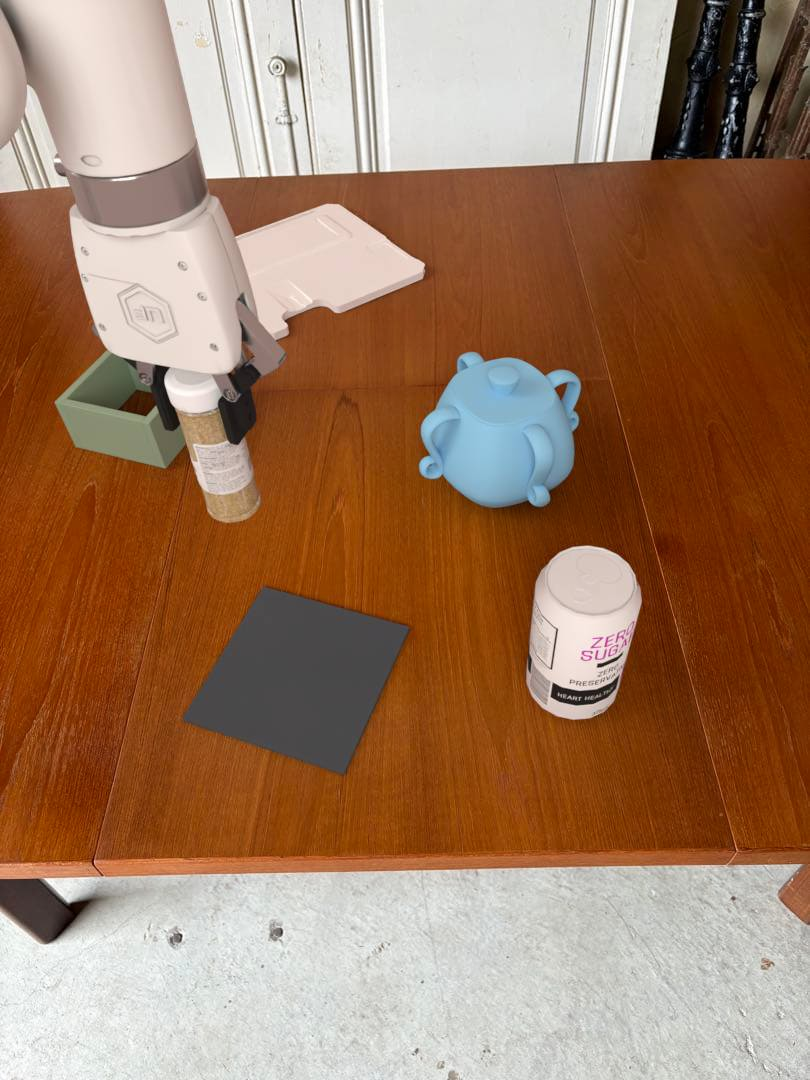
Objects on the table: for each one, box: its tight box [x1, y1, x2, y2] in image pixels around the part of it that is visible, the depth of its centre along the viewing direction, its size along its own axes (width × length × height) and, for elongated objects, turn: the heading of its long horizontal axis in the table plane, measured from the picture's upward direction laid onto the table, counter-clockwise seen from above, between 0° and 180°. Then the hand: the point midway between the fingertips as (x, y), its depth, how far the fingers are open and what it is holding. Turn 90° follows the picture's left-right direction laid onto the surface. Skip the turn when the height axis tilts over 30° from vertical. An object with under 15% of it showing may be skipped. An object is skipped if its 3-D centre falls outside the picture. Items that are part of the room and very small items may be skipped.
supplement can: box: [525, 545, 643, 721], centre depth 68 cm, size 8×8×15 cm
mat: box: [181, 586, 411, 776], centre depth 76 cm, size 16×16×1 cm
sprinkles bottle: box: [164, 367, 262, 524], centre depth 62 cm, size 5×5×14 cm
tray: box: [235, 203, 426, 341], centre depth 124 cm, size 28×28×2 cm
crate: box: [54, 349, 187, 469], centre depth 99 cm, size 13×13×7 cm
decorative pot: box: [418, 351, 582, 509], centre depth 88 cm, size 16×16×14 cm
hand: (210, 423), depth 60 cm, fingers closed on sprinkles bottle, 4 cm apart
